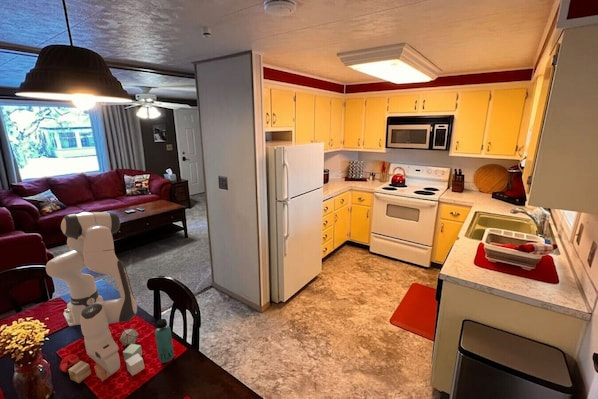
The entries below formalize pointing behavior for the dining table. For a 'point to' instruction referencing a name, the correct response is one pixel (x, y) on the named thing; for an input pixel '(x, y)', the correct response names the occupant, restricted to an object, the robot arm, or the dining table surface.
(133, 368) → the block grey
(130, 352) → the block sage
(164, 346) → the beverage bottle
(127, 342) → the game die
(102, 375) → the block terracotta
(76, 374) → the block oak
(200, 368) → the dining table surface
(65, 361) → the cap
